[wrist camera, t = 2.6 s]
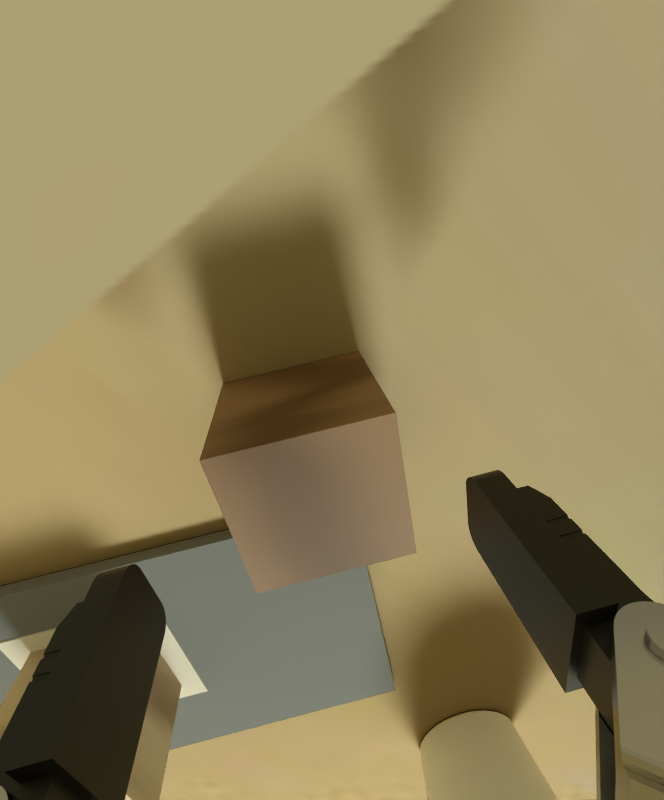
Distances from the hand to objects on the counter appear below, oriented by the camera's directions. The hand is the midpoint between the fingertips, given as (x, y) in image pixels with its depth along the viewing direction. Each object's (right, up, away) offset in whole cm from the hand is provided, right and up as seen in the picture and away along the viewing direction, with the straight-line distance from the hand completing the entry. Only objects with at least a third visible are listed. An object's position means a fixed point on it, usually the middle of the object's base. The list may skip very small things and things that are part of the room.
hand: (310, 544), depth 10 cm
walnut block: (-1, +3, +6) cm, 6 cm away
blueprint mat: (-7, -9, +10) cm, 16 cm away
